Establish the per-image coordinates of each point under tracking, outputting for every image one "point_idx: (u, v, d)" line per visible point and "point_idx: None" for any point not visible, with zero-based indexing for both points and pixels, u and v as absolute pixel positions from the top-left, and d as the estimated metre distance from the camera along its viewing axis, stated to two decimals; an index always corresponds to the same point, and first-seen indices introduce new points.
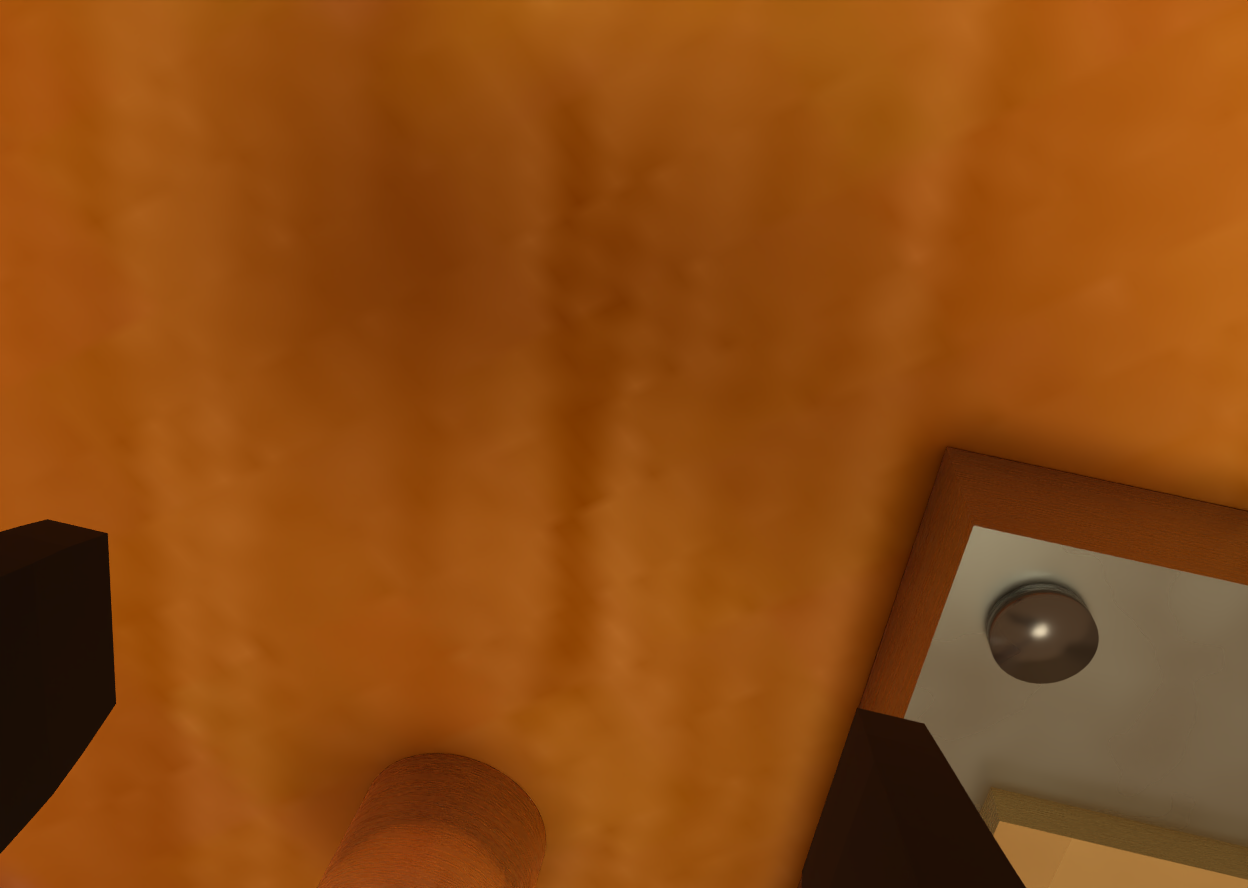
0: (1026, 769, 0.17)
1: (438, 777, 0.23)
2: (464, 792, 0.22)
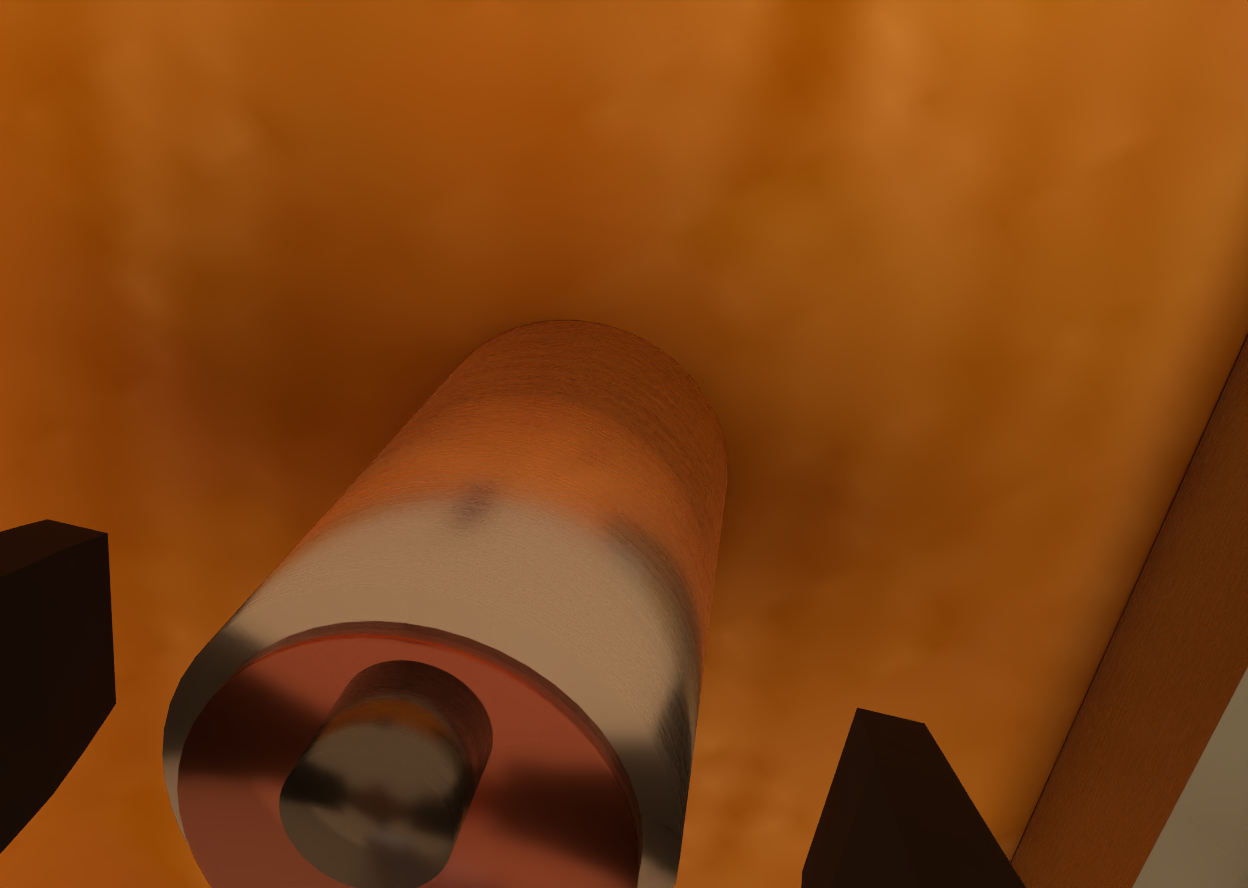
0: None
1: (562, 337, 0.13)
2: (609, 354, 0.13)
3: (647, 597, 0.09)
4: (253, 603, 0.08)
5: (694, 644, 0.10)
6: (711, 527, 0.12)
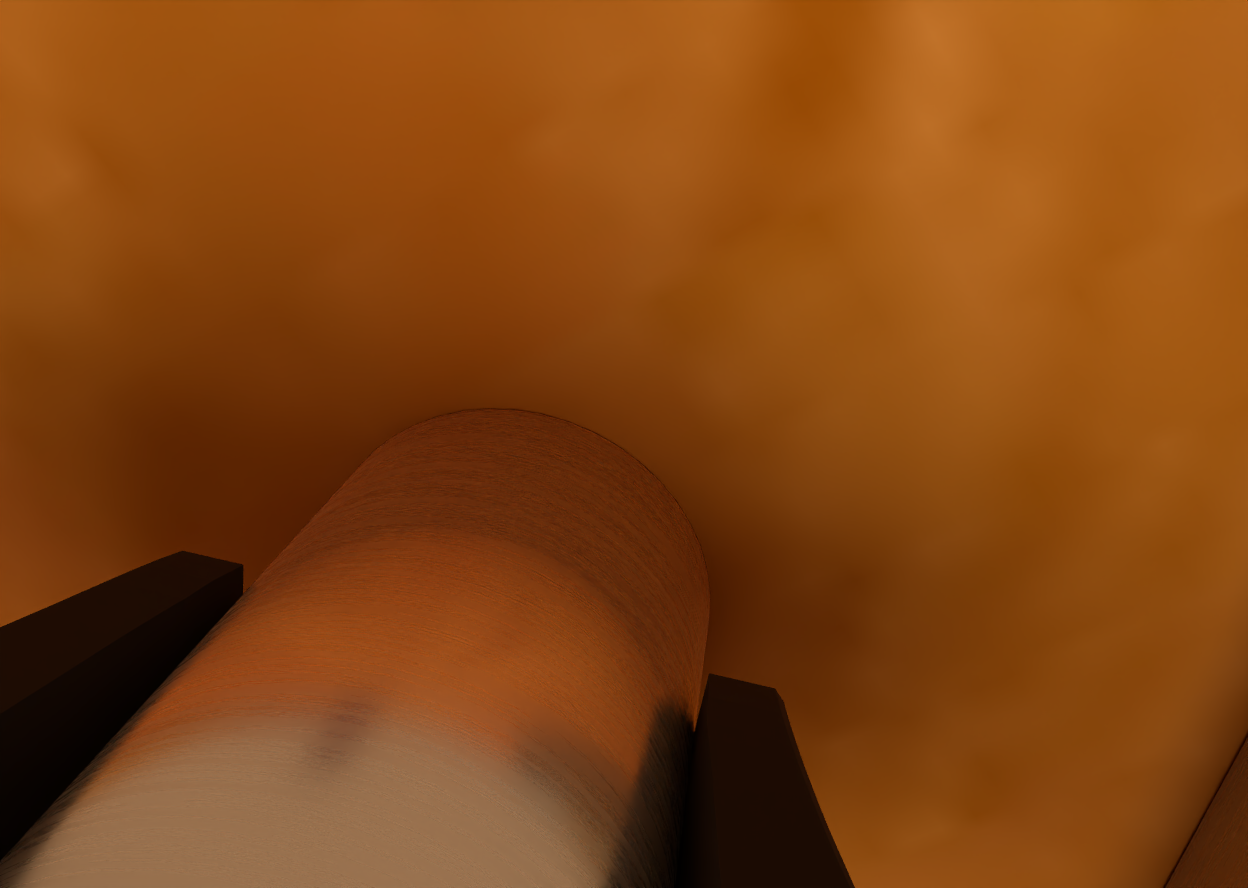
0: None
1: (488, 437, 0.10)
2: (549, 463, 0.10)
3: None
4: None
5: None
6: (682, 716, 0.09)
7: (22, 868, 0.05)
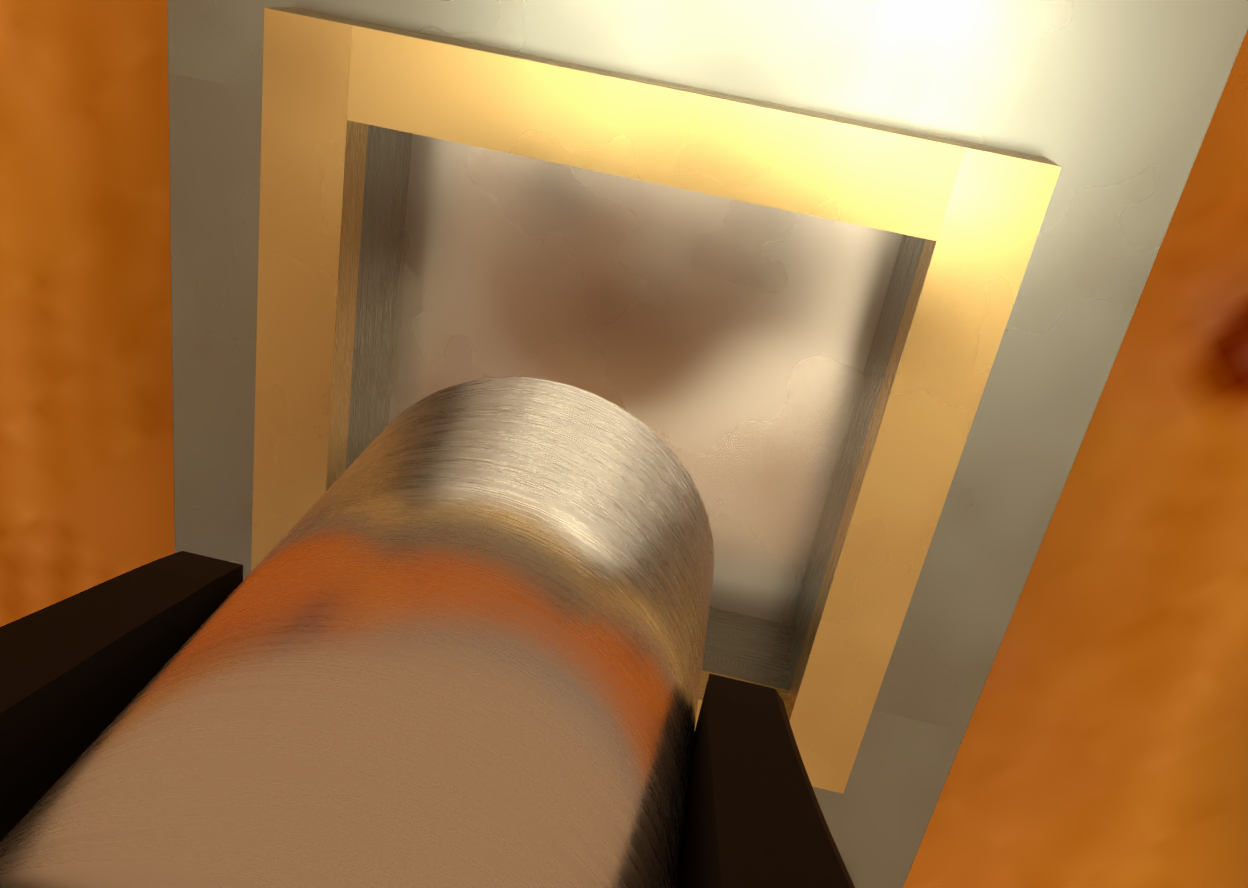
0: None
1: (520, 403, 0.11)
2: (578, 430, 0.10)
3: (607, 833, 0.06)
4: (10, 855, 0.05)
5: (667, 875, 0.07)
6: (694, 670, 0.09)
7: (121, 751, 0.06)
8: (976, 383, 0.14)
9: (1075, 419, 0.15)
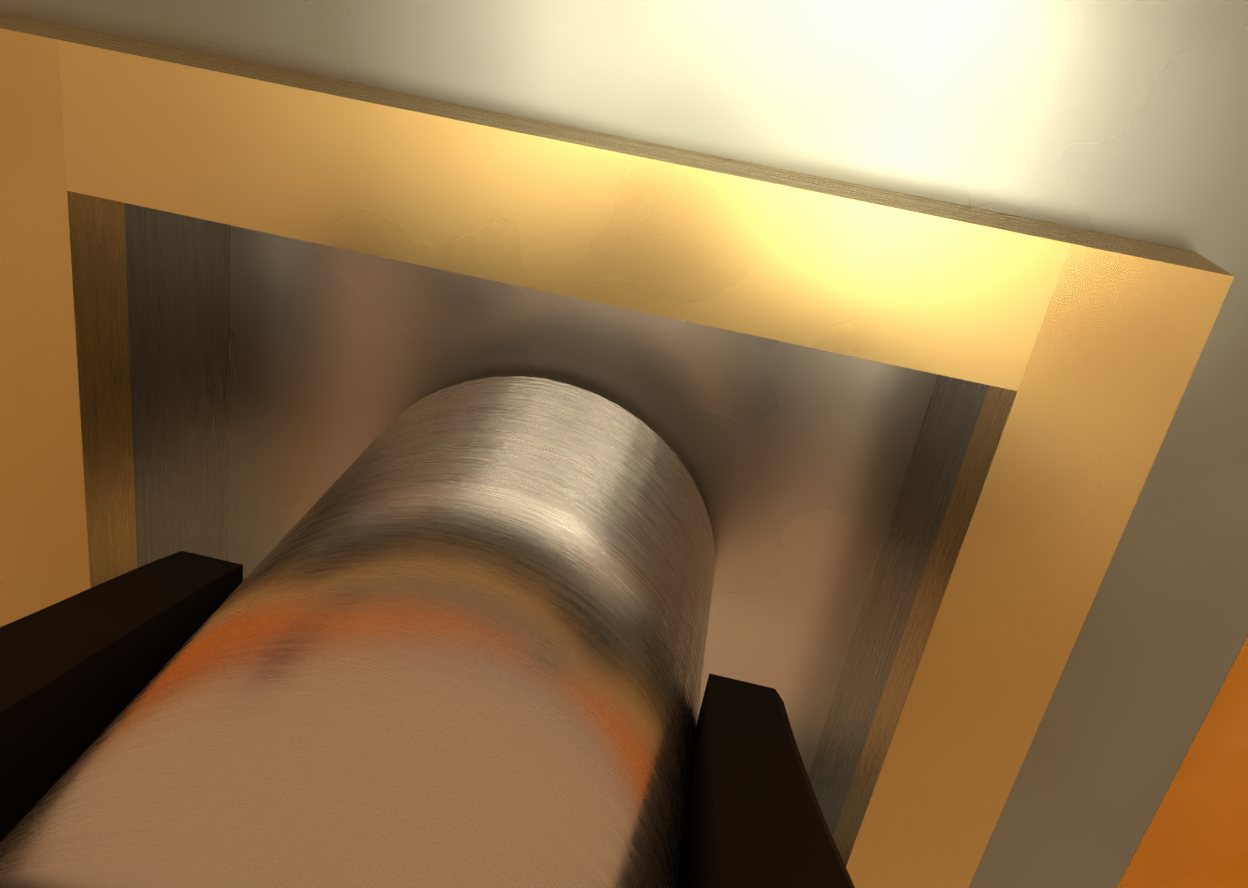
0: None
1: (521, 402, 0.11)
2: (579, 429, 0.10)
3: (611, 833, 0.06)
4: (12, 855, 0.05)
5: (668, 874, 0.07)
6: (695, 670, 0.09)
7: (122, 751, 0.06)
8: (1075, 606, 0.09)
9: (1220, 642, 0.10)
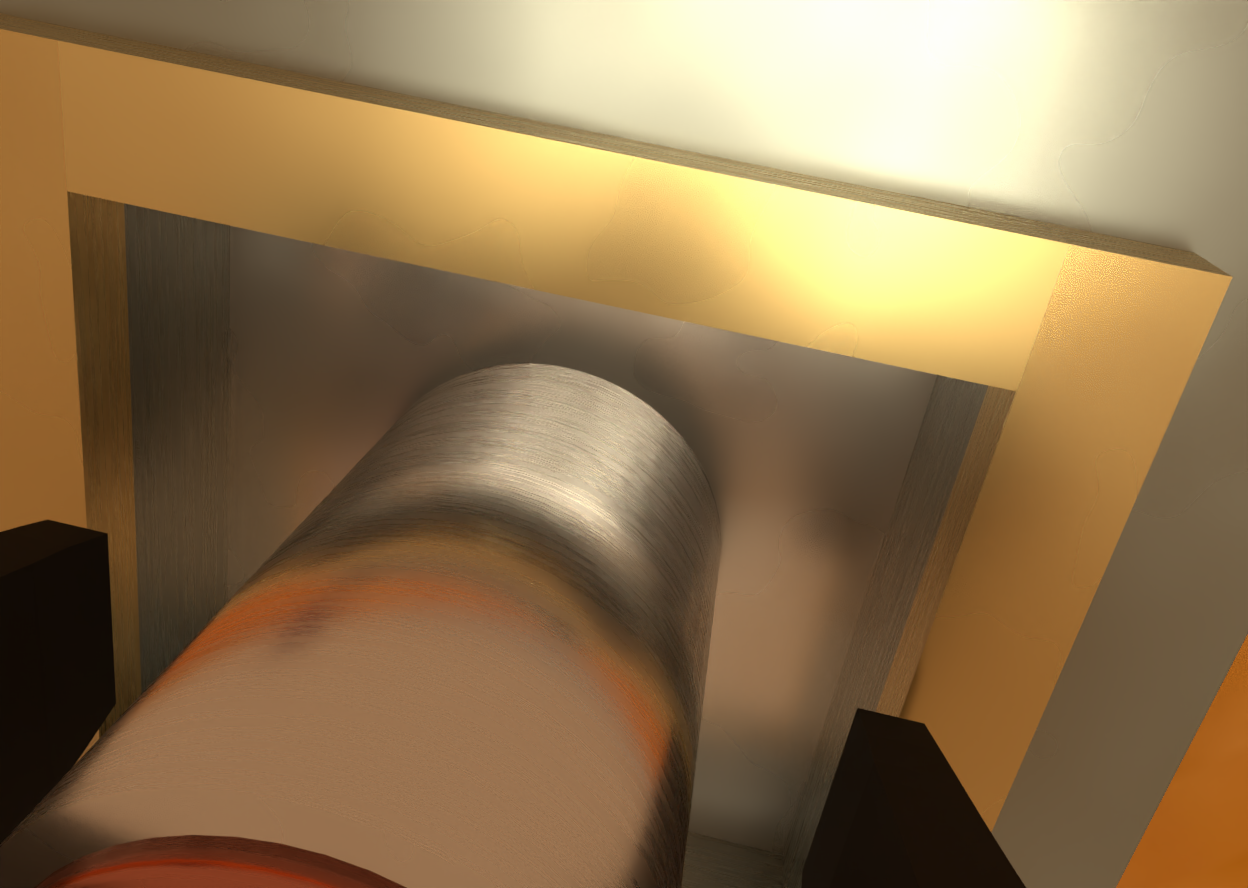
0: None
1: (536, 387, 0.11)
2: (591, 413, 0.11)
3: (625, 778, 0.07)
4: (74, 788, 0.06)
5: (680, 824, 0.08)
6: (703, 640, 0.10)
7: (171, 698, 0.06)
8: (1073, 606, 0.09)
9: (1218, 642, 0.10)
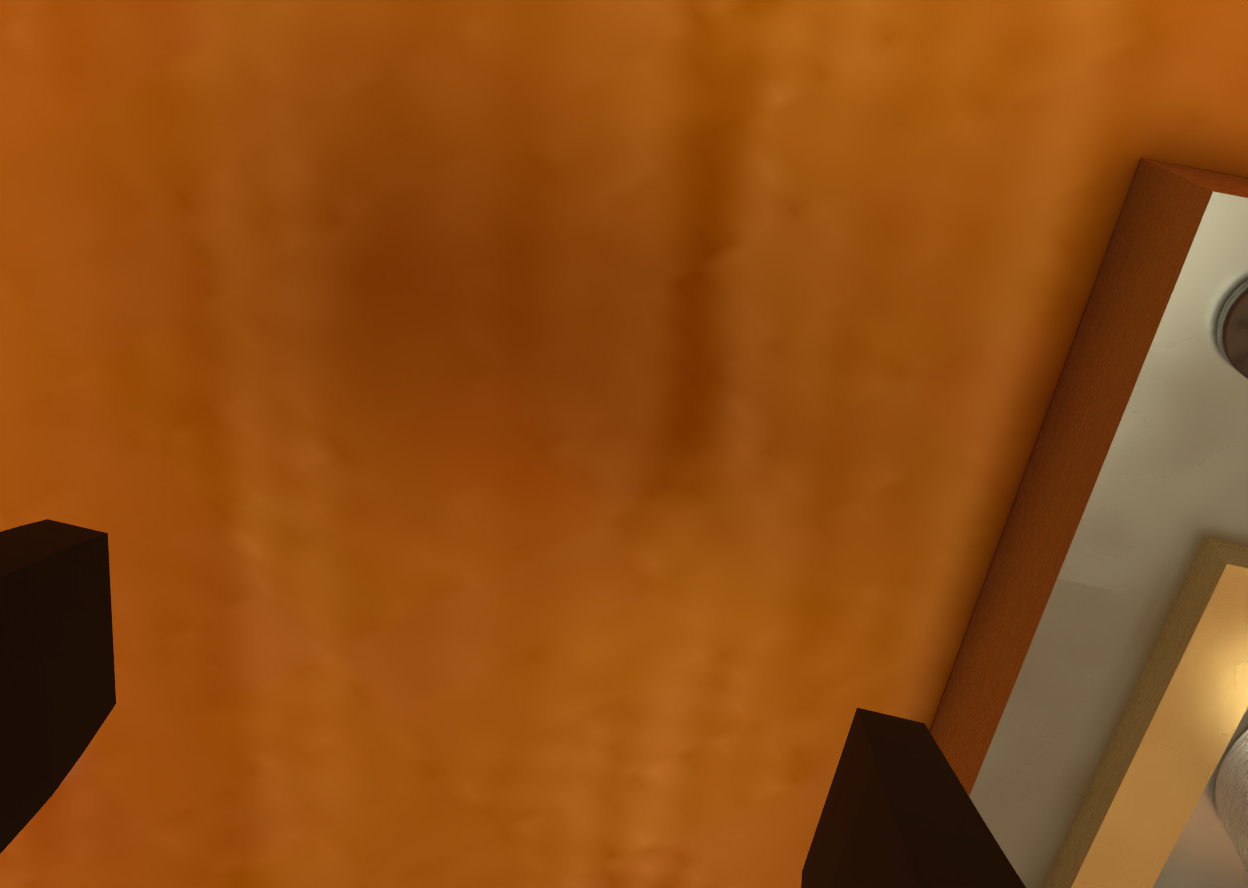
0: None
1: None
2: None
3: None
4: None
5: None
6: None
7: None
8: None
9: None
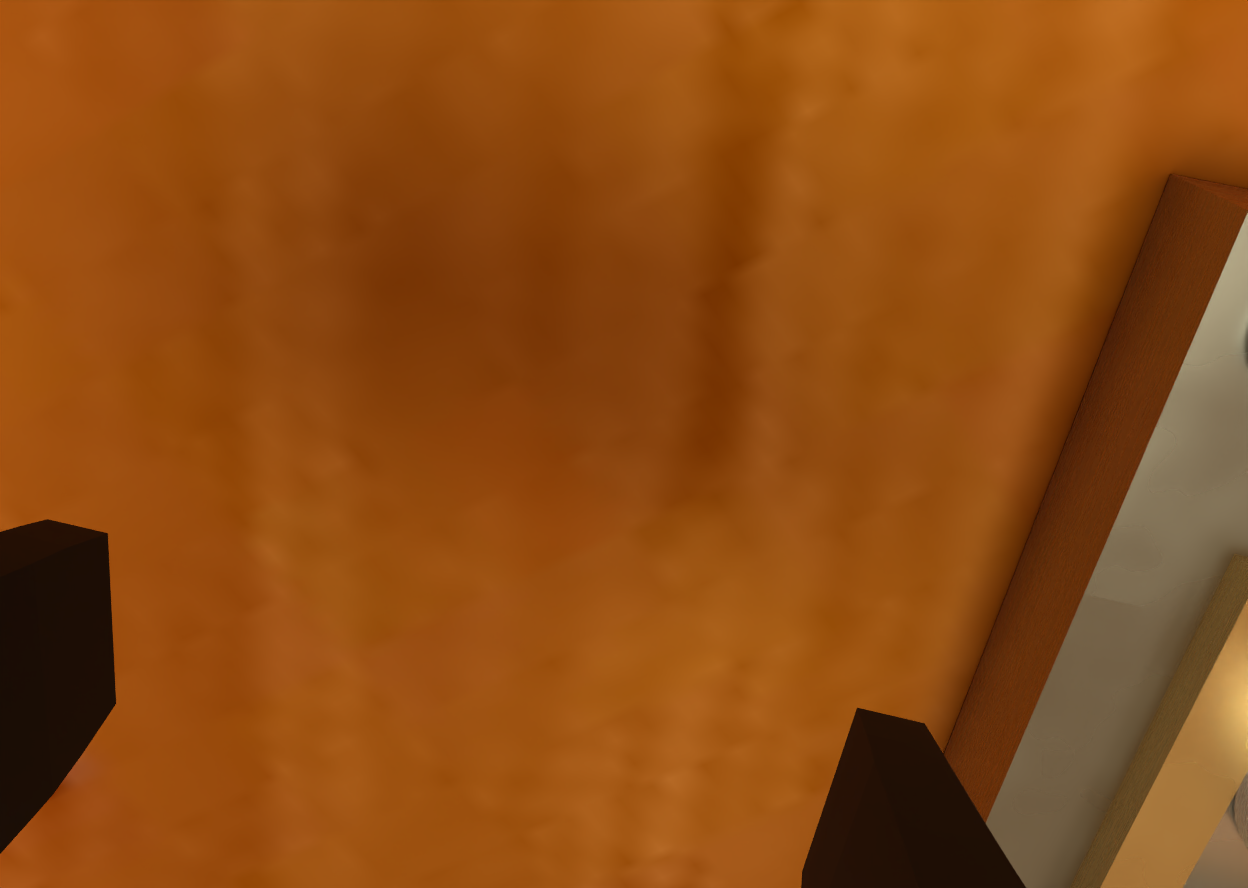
0: None
1: None
2: None
3: None
4: None
5: None
6: None
7: None
8: None
9: None
